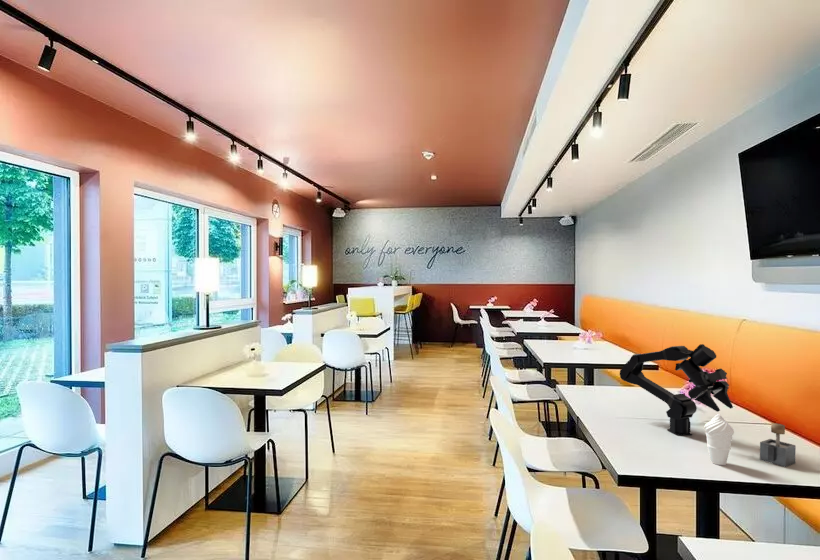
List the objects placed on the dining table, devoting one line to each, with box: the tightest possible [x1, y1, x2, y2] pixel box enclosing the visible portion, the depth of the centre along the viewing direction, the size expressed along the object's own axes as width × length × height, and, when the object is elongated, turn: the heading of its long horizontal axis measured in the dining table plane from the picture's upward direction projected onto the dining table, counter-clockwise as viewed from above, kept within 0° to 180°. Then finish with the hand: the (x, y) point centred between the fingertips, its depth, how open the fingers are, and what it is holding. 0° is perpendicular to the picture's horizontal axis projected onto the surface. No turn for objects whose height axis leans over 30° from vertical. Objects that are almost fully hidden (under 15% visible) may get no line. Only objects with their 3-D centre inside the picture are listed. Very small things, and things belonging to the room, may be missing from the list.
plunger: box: [769, 422, 787, 448], centre depth 156 cm, size 5×5×8 cm
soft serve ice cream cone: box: [703, 413, 735, 466], centre depth 154 cm, size 8×8×16 cm
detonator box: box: [759, 438, 797, 468], centre depth 156 cm, size 7×8×6 cm
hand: (725, 409), depth 170 cm, fingers open, 9 cm apart
